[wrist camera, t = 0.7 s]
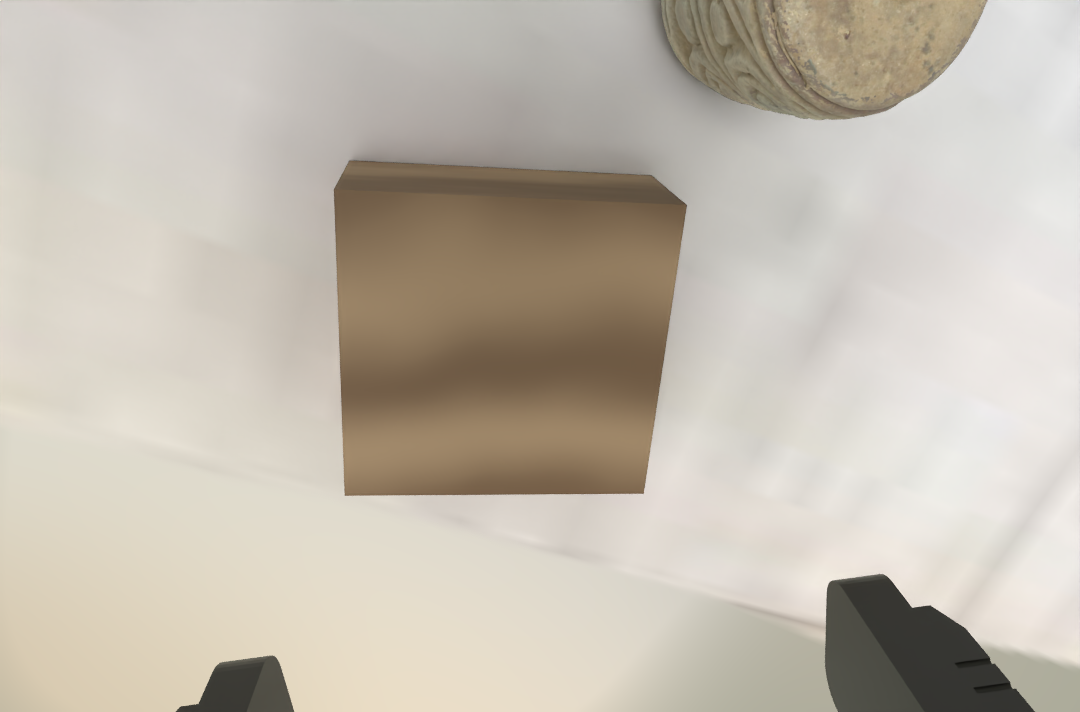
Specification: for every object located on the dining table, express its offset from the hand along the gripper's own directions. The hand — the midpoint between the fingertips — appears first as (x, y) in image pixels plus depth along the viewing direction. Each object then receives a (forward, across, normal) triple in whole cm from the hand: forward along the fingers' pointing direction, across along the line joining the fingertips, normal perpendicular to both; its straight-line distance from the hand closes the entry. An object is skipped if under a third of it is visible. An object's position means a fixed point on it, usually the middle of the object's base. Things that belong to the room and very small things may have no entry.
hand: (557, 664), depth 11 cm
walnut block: (+23, +1, +2) cm, 23 cm away
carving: (+23, -9, -10) cm, 27 cm away
